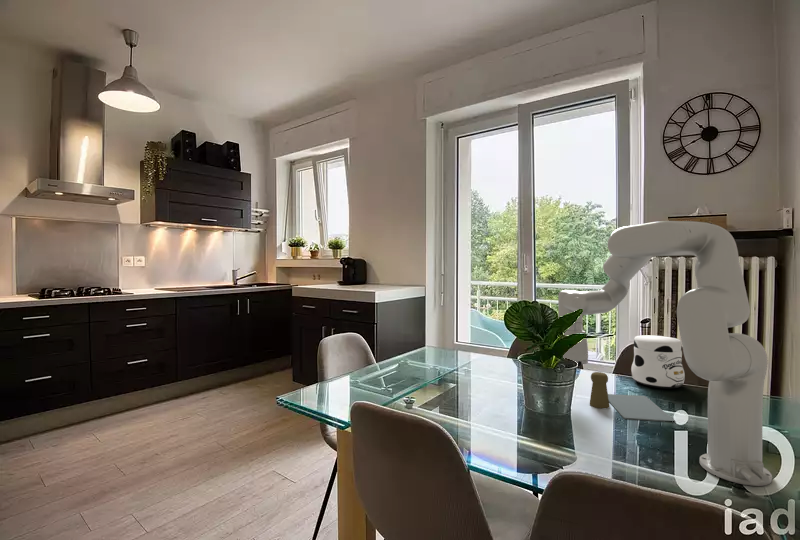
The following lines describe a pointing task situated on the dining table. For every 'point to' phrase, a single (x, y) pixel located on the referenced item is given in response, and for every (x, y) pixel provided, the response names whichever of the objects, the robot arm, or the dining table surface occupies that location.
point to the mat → (637, 408)
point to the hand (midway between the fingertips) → (570, 379)
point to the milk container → (658, 361)
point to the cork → (599, 390)
